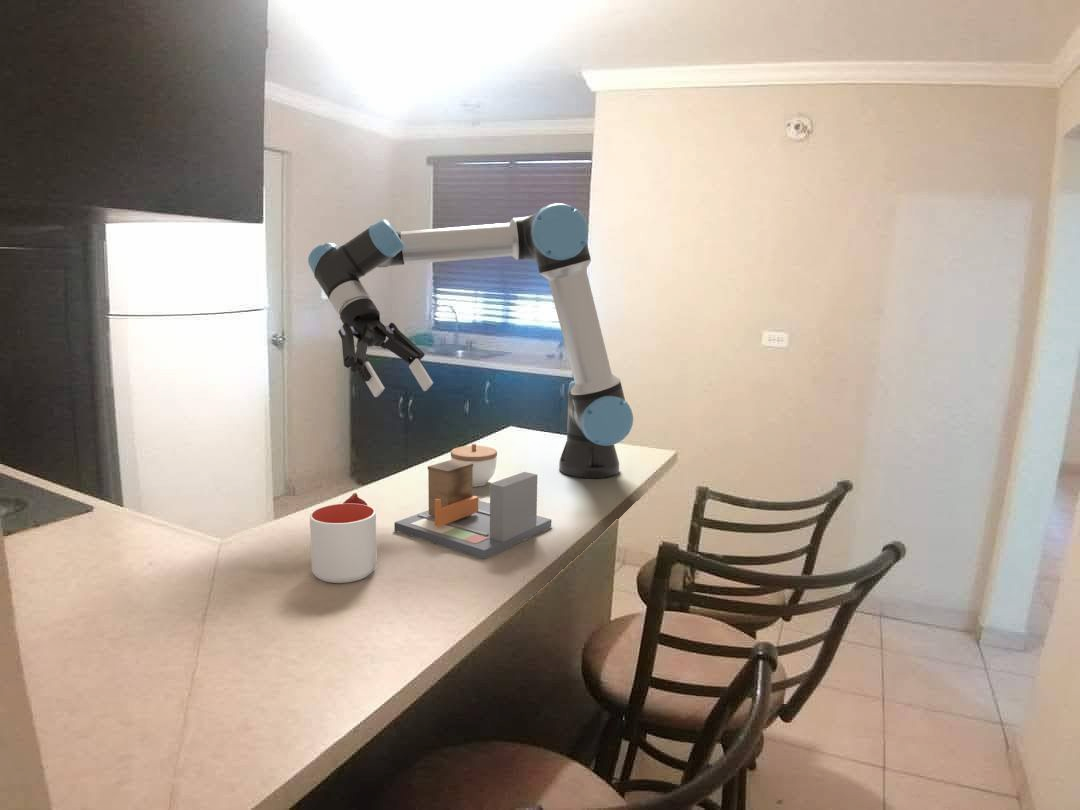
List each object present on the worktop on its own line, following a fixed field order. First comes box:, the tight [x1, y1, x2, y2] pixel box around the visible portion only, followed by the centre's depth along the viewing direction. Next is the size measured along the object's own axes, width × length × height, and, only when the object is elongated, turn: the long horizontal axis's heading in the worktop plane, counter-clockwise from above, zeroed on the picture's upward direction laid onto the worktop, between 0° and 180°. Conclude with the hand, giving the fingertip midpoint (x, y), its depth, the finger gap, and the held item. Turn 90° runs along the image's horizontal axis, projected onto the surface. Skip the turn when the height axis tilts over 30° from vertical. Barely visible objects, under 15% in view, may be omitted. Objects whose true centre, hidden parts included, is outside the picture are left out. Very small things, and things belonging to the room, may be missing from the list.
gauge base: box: [393, 471, 552, 560], centre depth 130 cm, size 20×22×12 cm
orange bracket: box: [435, 495, 479, 527], centre depth 129 cm, size 11×1×5 cm, turn 145°
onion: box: [342, 492, 369, 506], centre depth 126 cm, size 6×6×8 cm
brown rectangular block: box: [427, 459, 473, 516], centre depth 133 cm, size 7×5×10 cm
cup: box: [309, 503, 378, 584], centre depth 109 cm, size 10×10×10 cm
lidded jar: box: [450, 443, 498, 488], centre depth 160 cm, size 11×11×9 cm
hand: (405, 390), depth 137 cm, fingers open, 13 cm apart
